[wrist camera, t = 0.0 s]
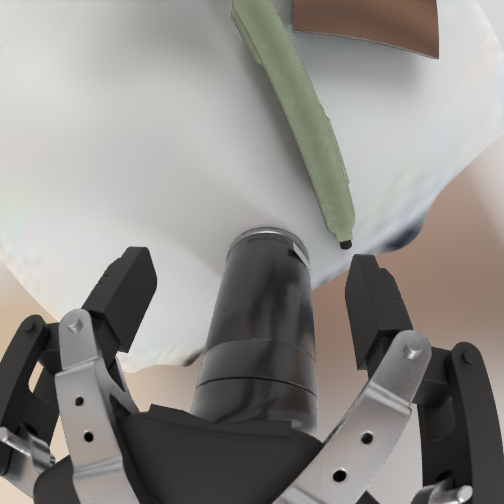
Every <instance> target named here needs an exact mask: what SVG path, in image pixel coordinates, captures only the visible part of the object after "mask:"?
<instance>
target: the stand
mask: <svg viewBox="0 0 504 504" xmlns="http://www.w3.org/2000/svg"><path fill="white" fill-rule="evenodd" d="M292 17H293V32H295V33H310V34H321V35H330V36H338V37H345V38H351V39H357V40H363V41H368V42H373V43H377V44H382V45H386V46H390V47H394V48H398V49H402V50H405V51H409V52H412V53H415V54H419V55H422V56H425V57H428V58H431V59H439V32H438V15H437V4H436V0H292Z"/></svg>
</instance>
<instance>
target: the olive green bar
mask: <svg viewBox="0 0 504 504" xmlns="http://www.w3.org/2000/svg"><path fill="white" fill-rule="evenodd" d="M232 8H233V10H232V11H231V18H232V20H233V21H234V23H235V25H236V27H237V29H238V31H239V32H240V34H241V36H242V38H243V40H244V42H245V44H246V46H247V48H248V50H249V52H250V54H251V56H252V58H253V60H254V61H255V62H256V63H258V64H261V65H263V67H264V69H265V71H266V74H267V76H268V78H269V80H270V82H271V84H272V86H273V89H274V91H275V93H276V95H277V98H278V100H279V102H280V104H281V107H282V109H283V111H284V114H285V116H286V118H287V121H288V123H289V126H290V128H291V130H292V133H293V135H294V138H295V140H296V143H297V145H298V148H299V151H300V153H301V156H302V158H303V161H304V164H305V166H306V169H307V172H308V174H309V177H310V180H311V183H312V186H313V188H314V191H315V194H316V197H317V200H318V203H319V206H320V209H321V212H322V215H323V218H324V221H325V224H326V227H327V229H328V230H329V231H330V232H332V233H335V235H336V237H337V239H338V241H339V243H340V247H341V248H342V249H344V250H346V249H349V248H351V246H352V243H351V240H352V228H353V226H354V223H355V213H354V207H353V203H352V198H351V195H350V191H349V187H348V184H349V179H348V176H347V173H346V169H345V166H344V162H343V159H342V156H341V153H340V150H339V146H338V143H337V140H336V137H335V134H334V131H333V129H332V126H331V123H330V119H328V117H327V116H326V115H325V113H324V110H323V107H322V105H321V104H320V103H319V100H318V98H317V95H316V93H315V90H314V88H313V86H312V83H311V81H310V79H309V76H308V74H307V72H306V70H305V67H304V65H303V63H302V61H301V59H300V56H299V54H298V52H297V50H296V48H295V46H294V44H293V42H292V40H291V38H290V36H289V34H288V32H287V30H286V28H285V26H284V24H283V22H282V21H281V19H280V17H279V15H278V13H277V11H276V10H275V8H274V6H273V4H272V3H271V1H270V0H233V3H232Z"/></svg>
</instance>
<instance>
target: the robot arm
mask: <svg viewBox="0 0 504 504" xmlns="http://www.w3.org/2000/svg"><path fill="white" fill-rule="evenodd" d="M309 270H310V264H309V257H308V253H307V250H306V248H305V246H304V245H303V243H302V242H301V241H300V240H299V239H298V238H297V237H296V236H294V235H293V234H291V233H289V232H287V231H284V230H282V229H278V228H270V227H263V228H256V229H252V230H250V231H247V232H245V233H243V234H242V235H240V236H239V237H238V238H237V239H236V240H235V241H234V242H233V243H232V245H231V247H230V249H229V252H228V255H227V261H226V267H225V270H224V274H223V278H222V281H221V285H220V289H219V293H218V297H217V301H216V305H215V309H214V313H213V317H212V321H211V325H210V330H209V334H208V338H207V342H206V346H205V350H204V354H203V359H202V364H201V368H200V372H199V377H198V381H197V385H196V390H195V394H194V398H193V403H192V407H191V410H190V413H188V412H185V411H183V410H178V409H173V408H168V407H163V406H159V405H154V404H151V406H150V409H149V411H147V412H139V410H138V408H137V406H136V405H135V403H134V402H133V400H132V398H131V395H130V393H129V390H128V387H127V384H126V382H125V378H124V375H123V372H122V369H121V366H120V363H119V360H118V358H117V356H116V353H117V351H120V352H125V353H128V352H129V349H130V347H131V345H132V342H133V340H134V338H135V335H136V333H137V331H138V328H139V326H140V324H141V322H142V319H143V317H144V315H145V313H146V310H147V308H148V306H149V304H150V302H151V300H152V297H153V295H154V293H155V291H156V288H157V276H156V272H155V269H154V266H153V262H152V259H151V256H150V252H149V250H148V248H147V247H128V248H127V249H126V251H125V252H124V254H123V255H122V257H121V258H118V259H117V260H115V261H114V262H113V263H112V264H110V265H109V266H108V268H107V269H106V271H105V272H104V274H103V276H102V277H101V278H100V280H99V281H98V284H96V286H95V287H94V289H93V290H92V292H91V293H90V295H89V296H88V298H87V300H86V301H85V303H84V304H83V306H82V308H81V309H75V310H72V311H70V312H69V313H67V314H66V315H65V316H64V317H63V318H62V319H61V321H60V322H59V323H51V324H46V323H45V321H44V320H43V319H42V317H41V316H40V315H31V316H29V317H28V318H26V319H25V320H24V321H23V322H22V323H21V325H20V327H19V328H18V330H17V332H16V334H15V336H14V337H13V339H12V341H11V343H10V345H9V346H8V349H7V350H6V352H5V354H4V356H3V358H2V360H1V362H0V477H2V478H5V479H7V480H8V481H9V482H11V483H12V484H13V485H14V486H16V487H17V488H18V489H20V490H21V491H23V492H24V493H25V494H27V495H28V496H30V497H31V498H33V500H34V504H380V503H379V502H378V501H376V500H375V498H374V497H373V496H372V495H371V494H369V492H368V491H367V490H366V489H367V488H368V486H369V485H370V484H371V482H372V481H373V479H374V478H375V476H376V475H377V473H378V472H379V470H380V469H381V467H382V466H383V464H384V463H385V461H386V460H387V458H388V456H389V455H390V453H391V451H392V450H393V448H394V446H395V445H396V443H397V441H398V439H399V438H400V436H401V434H402V432H403V430H404V428H405V426H406V424H407V423H408V420H409V418H410V416H411V413H412V409H410V405H411V403H415V404H417V409H418V417H419V427H420V437H421V451H422V475H423V488H422V489H421V490H419V491H418V493H417V494H416V495H415V497H414V498H413V501H412V502H411V504H504V454H503V446H502V438H501V432H500V425H499V420H498V415H497V410H496V405H495V401H494V397H493V393H492V389H491V385H490V381H489V378H488V374H487V371H486V368H485V364H484V361H483V358H482V356H481V353H480V352H479V350H478V349H477V348H476V347H475V346H474V345H472V344H471V343H468V342H460V343H458V344H456V345H455V347H454V348H453V349H452V350H451V351H449V350H445V349H440V348H435V347H432V346H431V345H430V343H429V341H428V340H427V338H426V337H425V336H423V335H422V334H421V333H419V332H416V331H414V330H413V327H412V324H411V321H410V318H409V315H408V313H407V310H406V307H405V305H404V302H403V300H402V299H401V294H400V292H399V290H398V287H397V284H396V282H395V279H394V277H393V276H392V275H391V274H390V273H389V272H388V271H387V270H386V269H385V268H379V266H378V264H377V261H376V259H375V256H374V255H364V254H354V256H353V258H352V262H351V266H350V270H349V274H348V278H347V282H346V287H345V300H346V306H347V311H348V316H349V321H350V326H351V332H352V338H353V344H354V350H355V356H356V362H357V370H367V372H368V377H369V380H368V381H367V383H366V384H365V386H364V388H363V389H362V391H361V392H360V393H359V395H358V396H357V398H356V400H355V401H354V402H353V404H352V405H351V407H350V408H349V410H348V411H347V412H346V414H345V415H344V417H343V418H342V419H341V420H340V422H339V423H338V425H337V426H336V427H335V428H334V430H333V431H332V432H331V433H330V434H329V436H328V437H327V438H326V439H325V441H324V442H323V443H322V442H321V441H319V440H318V439H316V438H315V437H313V435H314V434H315V433H316V430H317V427H318V391H317V367H316V352H315V336H314V322H313V310H312V297H311V286H310V275H309ZM37 361H38V362H40V364H41V365H42V366H43V367H44V368H43V370H42V372H41V374H40V377H39V379H38V382H37V384H36V386H35V389H34V391H33V393H32V392H31V391H30V389H29V385H28V383H29V379H30V376H31V374H32V372H33V370H34V367H35V365H36V363H37ZM59 414H60V416H61V421H62V425H63V430H64V434H65V438H66V442H67V446H68V449H69V453H70V454H69V455H68V456H67V457H65V458H63V459H62V460H60V461H59V462H57V463H56V464H55V457H54V456H53V455H52V454H51V453H50V449H49V447H50V443H51V440H52V436H53V432H54V429H55V426H56V423H57V420H58V417H59ZM50 466H51V467H50Z"/></svg>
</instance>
